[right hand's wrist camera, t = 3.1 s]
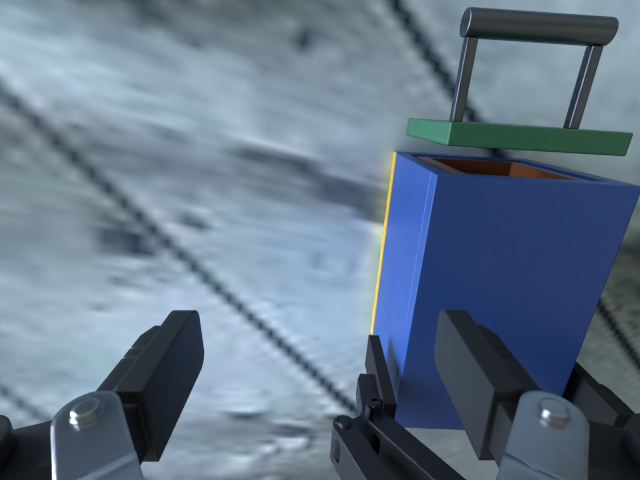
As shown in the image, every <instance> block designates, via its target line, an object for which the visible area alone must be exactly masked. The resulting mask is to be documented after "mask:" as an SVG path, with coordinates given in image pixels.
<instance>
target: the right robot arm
mask: <svg viewBox="0 0 640 480" xmlns="http://www.w3.org/2000/svg"><path fill="white" fill-rule="evenodd" d="M434 358H435V364H436V367H437V370H438V372H439V374H440V376H441V379H442V381H443V383H444V385H445V387H446V390H447V392H448V394H449V396H450V398H451V400H452V403H453V405H454V407H455V409H456V411H457V414H458V416H459V418H460V420H461V422H462V425H463V427H464V429H465V431H466V433H467V435H468V438H469V440H470V442H471V444H472V446H473V449H474V451H475V453H476V455H477V457H478V460H495V462H496V464H497V466H498V468H499V471H498V474H497V478H496V480H640V414H634V415H632V416H631V417H630V418H629V420H628V423H627V425H626V428H625V429H623V428H619V427H615V426H611V425H607V424H603V423H598V422H594V421H590V420H587V418H586V417H585V415H584V414H583V413H582V411H580V410H579V409H578V408H577V407H576V406H575V405H574V404H572V403H571V402H569V401H568V400H566V399H564V398H562V397H560V396H558V395H555V394H552V393H549V392H545V391H542V390H541V389H540V388H539V387H538V385H537V384H536V383H535V382H534V380H533V379H532V378H531V377H530V375H529V374H528V373H527V372H526V370H525V369H524V368H523V367H522V365H521V364H520V363H519V361H518V360H517V359H516V358H514V355H513V354H512V353H511V351H510V350H509V349H508V348H506V345H505V344H504V343H503V341H502V340H501V339H500V338H499V336H498V335H497V334H495V333H494V332H492V331H491V330H490V329H488V328H487V327H485V326H484V325H477V324H476V323H475V322H474V320H473V319H472V317H471V316H470V315H469V313H468V312H467V311H466V310H441V311H440V313H439V318H438V325H437V333H436V340H435V347H434ZM203 360H204V346H203V339H202V332H201V325H200V317H199V313H198V312H197V311H196V310H174V311H172V312H171V313H170V314H169V315H168V317H167V318H166V319H165V321H164V322H163V323H162V325H161V326H154V327H152V328H151V329H149V330H148V331H146V332H145V333H143V334H142V335H141V336H140V337H139V338H138V339H137V341H136V342H135V343H134V344H133V346H132V348H131V349H129V351H128V352H127V353H126V354H125V356H124V359H121V360H120V362H119V363H118V364H117V365H116V367H115V368H114V369H113V370H112V372H111V373H110V374H109V375H108V377H107V378H106V379H105V380H104V382H103V383H102V384H101V385H100V387H99V388H98V389H97V390H96V391H95V392H91V393H88V394H85V395H82V396H80V397H78V398H76V399H74V400H72V401H71V402H69V403H68V404H66V405H65V406H64V407H63V408H62V409H61V410H60V411H58V413H57V414H56V415H55V417H54V418H53V420H51V421H48V422H44V423H40V424H36V425H31V426H27V427H23V428H19V429H15V430H13V427H12V425H11V422H10V420H9V419H8V418H7V417H6V416H3V415H0V480H144V478H143V474H142V471H141V467H140V465H141V463H142V462H159V460H160V458H161V455H162V453H163V451H164V449H165V447H166V445H167V442H168V440H169V438H170V436H171V434H172V432H173V429H174V427H175V425H176V423H177V421H178V419H179V416H180V414H181V412H182V410H183V408H184V406H185V403H186V401H187V399H188V397H189V395H190V393H191V390H192V388H193V386H194V384H195V382H196V380H197V377H198V375H199V373H200V371H201V369H202V365H203Z"/></svg>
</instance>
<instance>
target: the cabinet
mask: <svg viewBox="0 0 640 480" xmlns="http://www.w3.org/2000/svg"><path fill="white" fill-rule="evenodd" d="M417 156H426V157H443V158H460V159H476V160H493V161H510V162H519V163H523V164H526V165H530V166H534V167H538V168H542V169H546V170H550V171H554V172H557V173H561V174H565V175H569V176H573V177H577V178H581V179H585V180H588V181H582V180H565V179H547V178H530V177H513V176H496V175H478V174H461V173H448V172H445V171H443V170H441V169H439V168H437V167H435V166H433V165H431V164H429V163H427V162H425V161H422V160H420V159H418V158H416V157H417ZM639 195H640V186H637V185H633V184H629V183H625V182H620V181H616V180H612V179H608V178H603V177H599V176H595V175H591V174H586V173H582V172H578V171H573V170H569V169H565V168H561V167H556V166H552V165H548V164H544V163H539V162H535V161H532V160H527V159H512V158H495V157H478V156H461V155H444V154H427V153H410V152H395V151H394V152H393V160H392V167H391V175H390V183H389V191H388V199H387V206H386V214H385V222H384V230H383V238H382V245H381V253H380V261H379V269H378V277H377V284H376V292H375V300H374V308H373V316H372V323H371V331H370V333H371V335H379V337H380V341H381V345H382V349H383V353H384V356H385V360H386V364H387V368H388V372H389V376H390V379H391V383H392V387H393V391H394V395H395V398H396V402H397V408H396V414H395V421H396V422H398V423H399V424H400V425H401V426H402V427H405V428H430V429H455V430H465V429H464V427H463V425H462V422H461V420H460V418H459V416H458V414H457V411H456V409H455V407H454V405H453V403H452V400H451V398H450V396H449V394H448V392H447V390H446V387H445V385H444V383H443V381H442V379H441V376H440V374H439V372H438V370H437V367H436V364H435V358H434V347H435V340H436V333H437V325H438V318H439V313H440V311H441V310H466V311H467V312H468V313H469V315H470V316H471V317H472V319H473V320H474V322H475V323H476V324H477V325H484V326H485V327H487V328H488V329H490V330H491V331H492V332H494V333H495V334H497V335H498V336H499V338H500V339H501V340H502V341H503V343H504V344H505V345H506V348H508V349H509V350H510V351H511V353H512V354H513V355H514V358H516V359H517V360H518V361H519V363H520V364H521V365H522V367H523V368H524V369H525V370H526V372H527V373H528V374H529V375H530V377H531V378H532V379H533V380H534V382H535V383H536V384H537V385H538V387H539V388H540V389H541V390H542V391H545V392H549V393H552V394H555V395H558V396H560V397H562V395H563V392H564V390H565V387H566V385H567V382H568V379H569V377H570V374H571V372H572V369H573V366H574V364H575V361H576V359H577V356H578V354H579V351H580V348H581V346H582V343H583V341H584V338H585V335H586V333H587V330H588V328H589V325H590V322H591V320H592V317H593V315H594V312H595V309H596V307H597V304H598V302H599V299H600V296H601V294H602V291H603V289H604V286H605V283H606V281H607V278H608V276H609V273H610V270H611V268H612V265H613V263H614V260H615V257H616V255H617V252H618V250H619V247H620V244H621V242H622V239H623V237H624V234H625V231H626V229H627V226H628V224H629V221H630V218H631V216H632V213H633V211H634V208H635V205H636V203H637V200H638V198H639Z"/></svg>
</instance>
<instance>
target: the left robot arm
mask: <svg viewBox="0 0 640 480" xmlns="http://www.w3.org/2000/svg"><path fill="white" fill-rule="evenodd" d="M365 366H366V372H367V374H360V375H359V378H358V383H357V391H356V400H357V407H358V417H356V418H353V419H352V418H351V417H349V416H345V415H341V416H338V417H336V418H335V419H334V421H333V430H332V440H331V452H330V458H331V461H332V463H333V465H334V466H335V468H336V470H337V472H338V474H339V476H340V477H341V479H342V480H466V479H464V478H463V477H462V476H461V475H460V474H458V473H457V472H456V471H455V470H454V469H452V468H451V467H450V466H449V465H448V464H446V463H445V462H444V461H443V460H442V459H441V458H439V457H438V456H437V455H436V454H435V453H433V452H432V451H431V450H430V449H429V448H427V447H426V446H425V445H424V444H423V443H421V442H420V441H419V440H418V439H417V438H415V437H414V436H413V435H412V434H411V433H409V432H408V431H407V430H406V429H405V428H403V427H402V426H401V425H400V424H399V423H398V422H396V421H395V414H396V408H397V402H396V398H395V395H394V391H393V387H392V383H391V379H390V376H389V372H388V368H387V364H386V360H385V356H384V353H383V349H382V345H381V341H380V337H379V335H369V338H368V346H367V354H366V362H365ZM562 398H564V399H566V400H568V401H569V402H571V403H572V404H574V405H575V406H576V407H577V408H578V409H579V410H580V411H582V413H583V414H584V415H585V417H586V418H587V420H590V421H594V422H598V423H603V424H607V425H611V426H615V427H619V428H623V429H625V428H626V425H627V423H628V420H629V418H630V417H631V416H632V415H634V414H635V413H634V412H633V411H632V410H631V409H630V408H629V407H628V406H627V405H626V404H625V403H623V401H622V400H621V399H620V398H618V397H617V395H616V394H614V393H613V392H612V391H611V390H610V389H608V388H607V387H605V386H604V385H602V384H599V383H598V382H597V381H596V380H595V379H594V378H593V377H592V376H591V375H590V374H589V373H588V372H587V371H585V370H584V369H583V368H582V367H581V366H580V365H579V364H578V363H577V362H576V361H575V364H574V366H573V369H572V372H571V374H570V377H569V379H568V382H567V385H566V387H565V390H564V392H563V395H562Z"/></svg>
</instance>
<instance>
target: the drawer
mask: <svg viewBox="0 0 640 480" xmlns="http://www.w3.org/2000/svg"><path fill="white" fill-rule="evenodd" d="M618 26H619V22H618V20H617V18H615V17H606V16H591V15H577V14H563V13H548V12H534V11H520V10H505V9H491V8H477V7H469V8H467V9H466V11H465V12H464V15H463V17H462V20H461V24H460V36H461V37H462V38H465V39H464V41H463V47H462V52H461V58H460V64H459V69H458V75H457V81H456V86H455V92H454V97H453V103H452V109H451V114H450V121H446V120H429V119H413V118H410V119H409V122H408V129H407V135H410V136H414V137H418V138H422V139H425V140H429V141H433V142H436V143H440V144H444V145H448V146H463V147H480V148H497V149H513V150H530V151H547V152H563V153H580V154H597V155H614V156H625V155H626V153H627V150H628V147H629V144H630V141H631V139H632V136H633V133H627V132H613V131H599V130H584V129H578V128H579V126H580V122H581V119H582V116H583V113H584V109H585V106H586V103H587V99H588V96H589V93H590V89H591V86H592V83H593V79H594V76H595V73H596V70H597V66H598V63H599V60H600V56H601V53H602V50H603V46H606V45H607V44H609V43H610V42H611V41H612V39H613V38H614V37H615V35H616V33H617V30H618ZM478 39H490V40H505V41H519V42H534V43H549V44H564V45H579V46H589V47H586V50H585V54H584V57H583V60H582V64H581V67H580V71H579V74H578V78H577V81H576V85H575V88H574V92H573V95H572V99H571V102H570V106H569V109H568V113H567V116H566V120H565V123H564V127H563V128H556V127H542V126H527V125H511V124H495V123H479V122H463V115H464V110H465V105H466V100H467V94H468V89H469V84H470V79H471V73H472V68H473V63H474V58H475V52H476V47H477V42H478ZM416 158H418V159H420V160H422V161H425V162H427V163H429V164H431V165H433V166H435V167H437V168H439V169H441V170H443V171H445V172H448V173H461V174H478V175H496V176H513V177H530V178H547V179H565V180H582V181H588V180H585V179H581V178H577V177H573V176H569V175H565V174H561V173H557V172H554V171H550V170H546V169H542V168H538V167H534V166H530V165H526V164H523V163H519V162H510V161H493V160H476V159H460V158H443V157H426V156H417V157H416Z"/></svg>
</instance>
